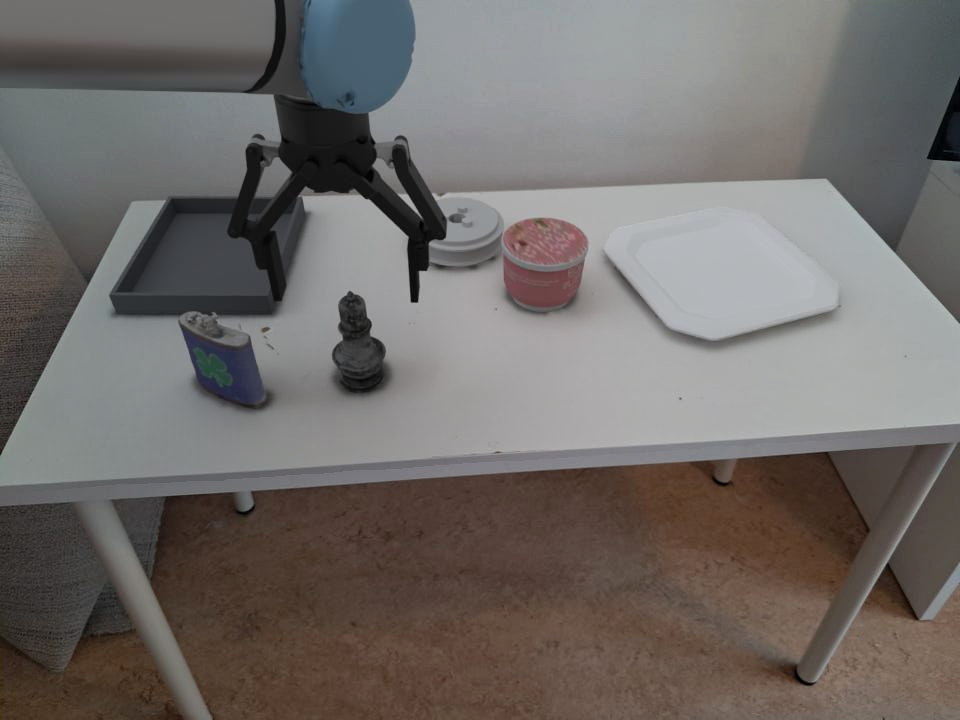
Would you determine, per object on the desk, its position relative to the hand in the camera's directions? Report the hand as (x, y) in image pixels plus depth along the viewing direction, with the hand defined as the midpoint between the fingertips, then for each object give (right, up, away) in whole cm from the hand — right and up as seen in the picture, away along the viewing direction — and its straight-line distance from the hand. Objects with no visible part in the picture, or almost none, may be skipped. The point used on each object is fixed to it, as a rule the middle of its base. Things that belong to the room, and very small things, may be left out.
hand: (347, 294), depth 74 cm
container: (+21, +2, +20) cm, 29 cm away
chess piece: (0, -9, +8) cm, 12 cm away
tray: (-22, +7, +25) cm, 34 cm away
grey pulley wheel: (+10, +9, +27) cm, 31 cm away
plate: (+44, +4, +22) cm, 50 cm away
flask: (-14, -10, +7) cm, 18 cm away
